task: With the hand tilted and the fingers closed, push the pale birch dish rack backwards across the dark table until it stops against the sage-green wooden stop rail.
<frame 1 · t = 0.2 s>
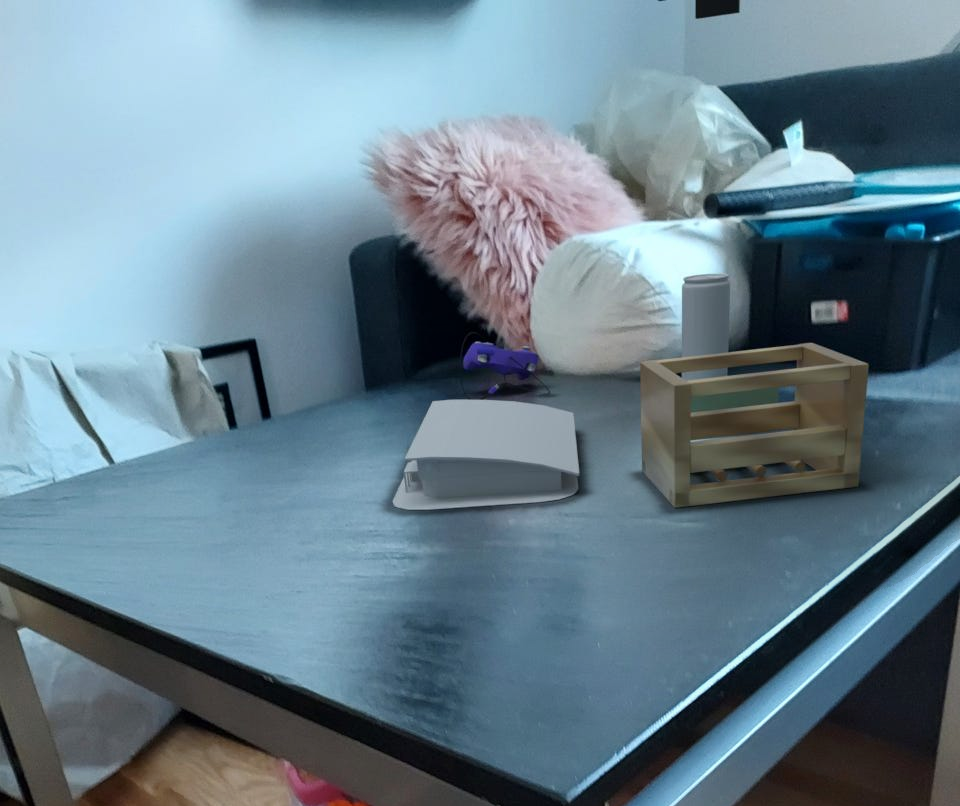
hand: (702, 8, 56), 31 cm above the table, tool pointing down, fingers open, 13 cm apart
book: (491, 467, 85), on the table
beverage can: (704, 396, 102), on the table
stop rail: (721, 414, 94), on the table
rack: (744, 478, 75), on the table
game controller: (507, 394, 112), on the table
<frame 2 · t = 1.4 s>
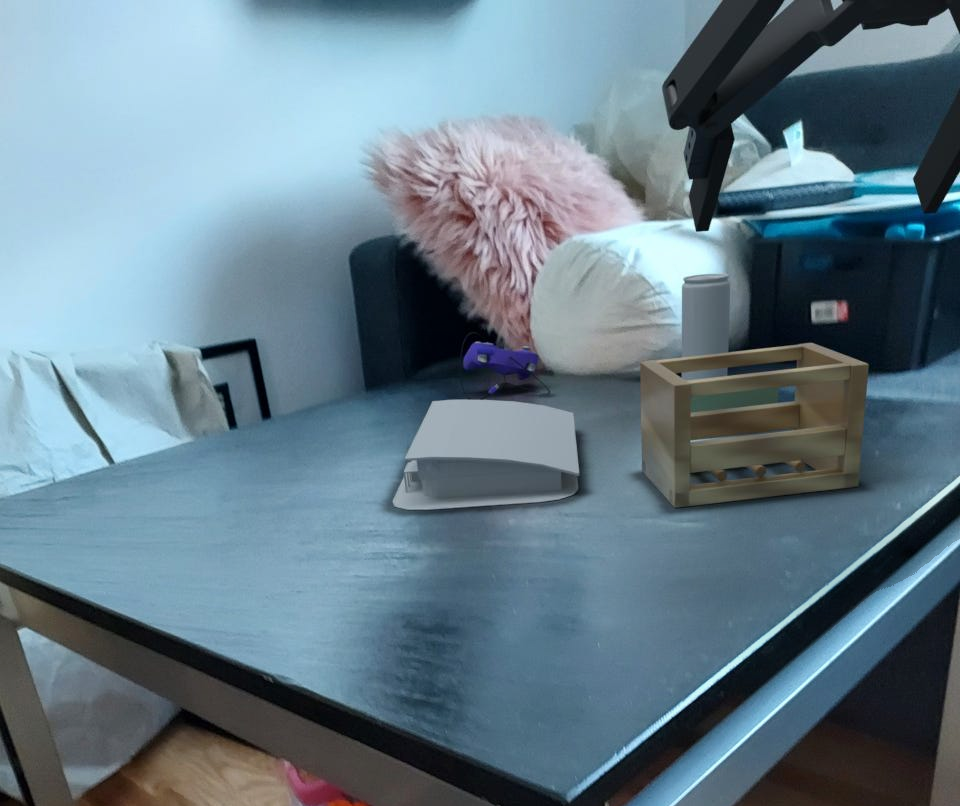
hand: (811, 205, 57), 20 cm above the table, tool tilted 45°, fingers open, 13 cm apart
nothing on the table moved.
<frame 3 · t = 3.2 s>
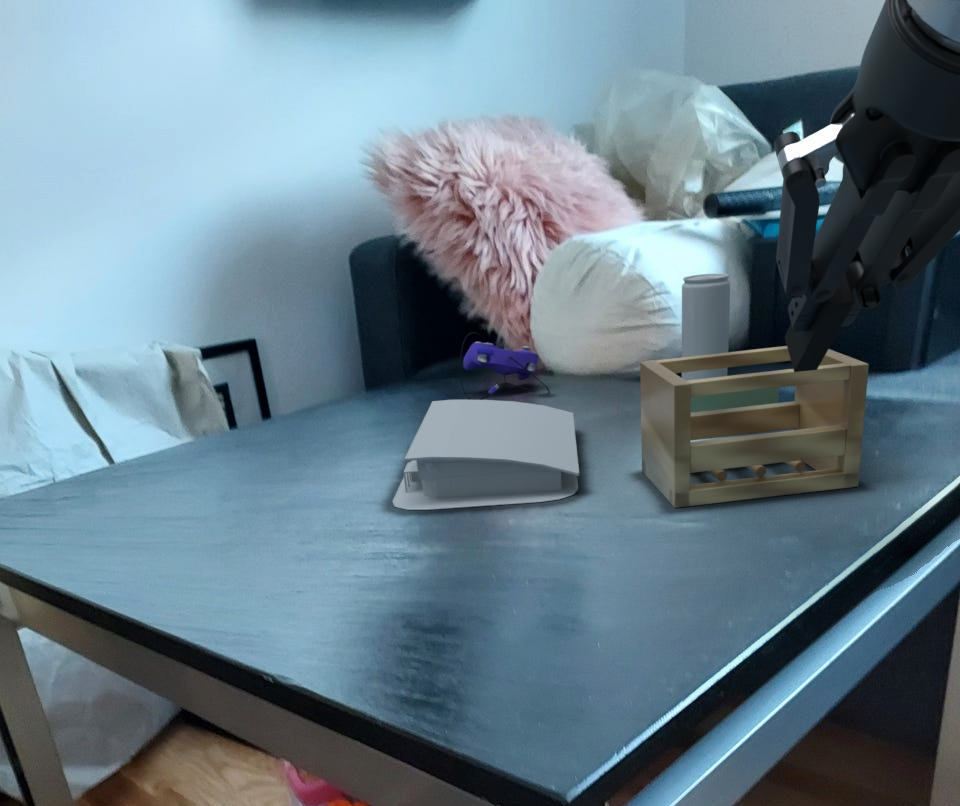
hand: (800, 353, 61), 11 cm above the table, tool tilted 45°, fingers closed
nothing on the table moved.
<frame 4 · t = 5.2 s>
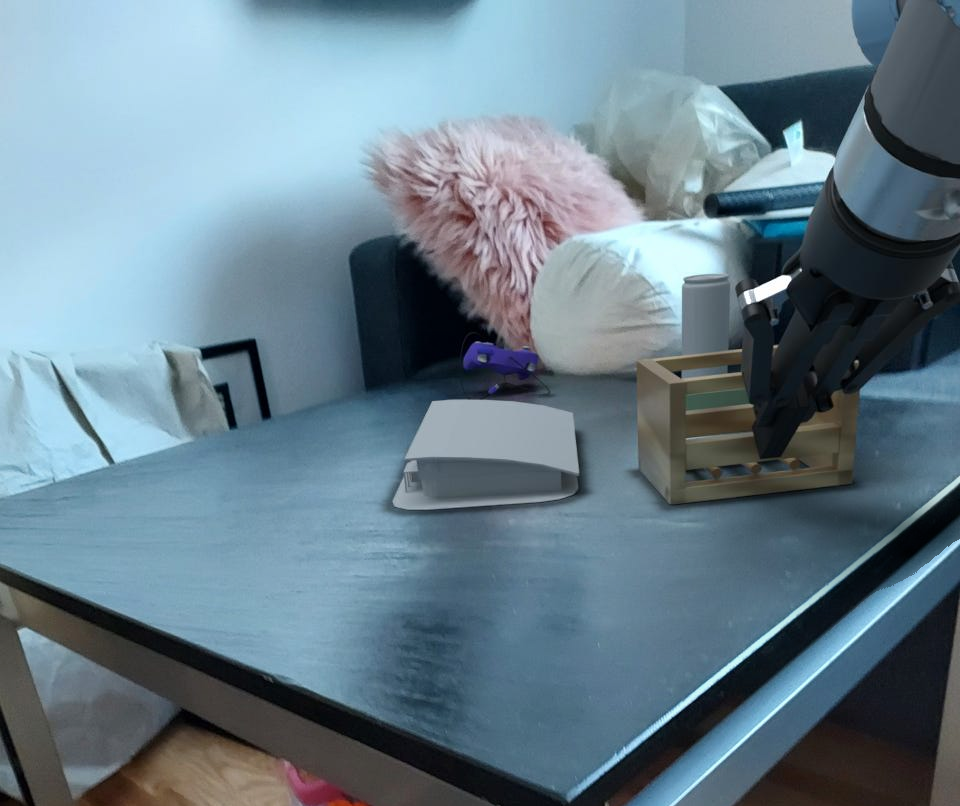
hand: (766, 441, 69), 4 cm above the table, tool tilted 45°, fingers closed
rack: (739, 476, 76), on the table, touching gripper
everything else where it was.
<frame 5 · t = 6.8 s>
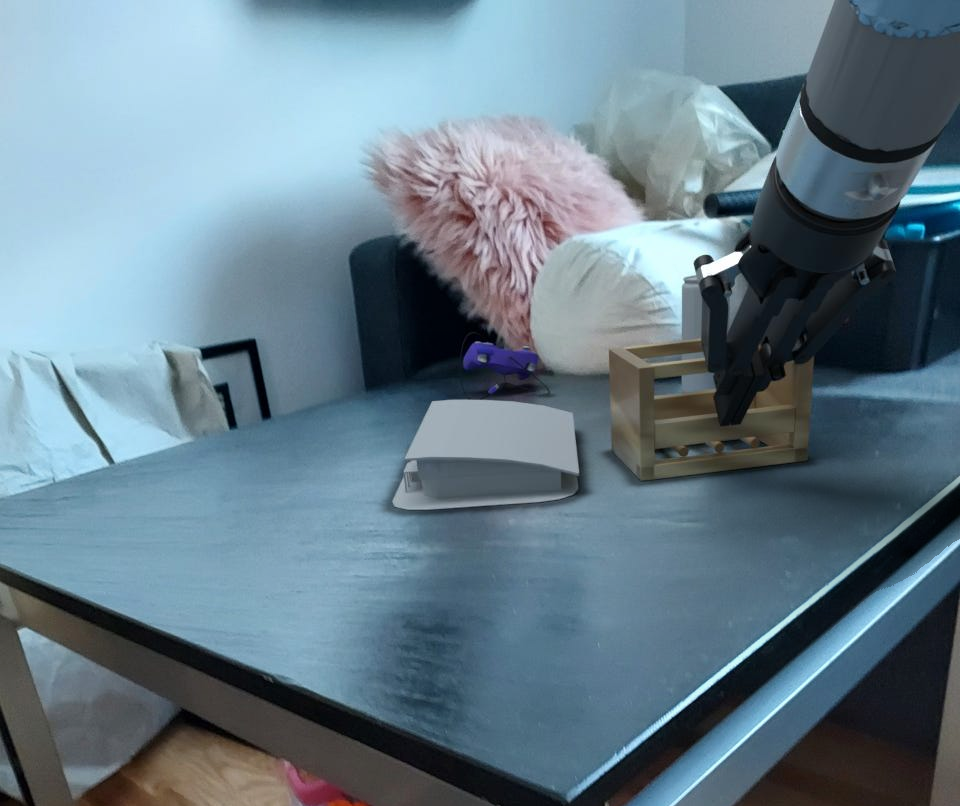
hand: (726, 410, 76), 5 cm above the table, tool tilted 45°, fingers closed
rack: (704, 455, 82), on the table, touching gripper
everything else where it was.
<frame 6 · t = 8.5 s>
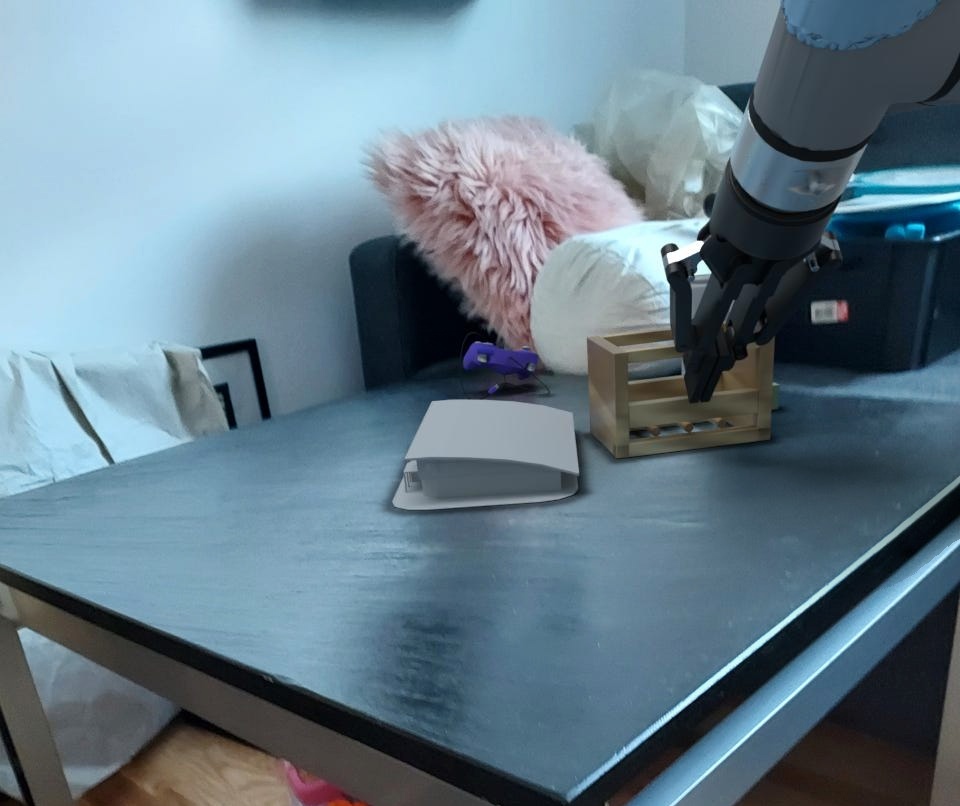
hand: (696, 389, 82), 5 cm above the table, tool tilted 45°, fingers closed
rack: (676, 436, 88), on the table, touching gripper
everything else where it was.
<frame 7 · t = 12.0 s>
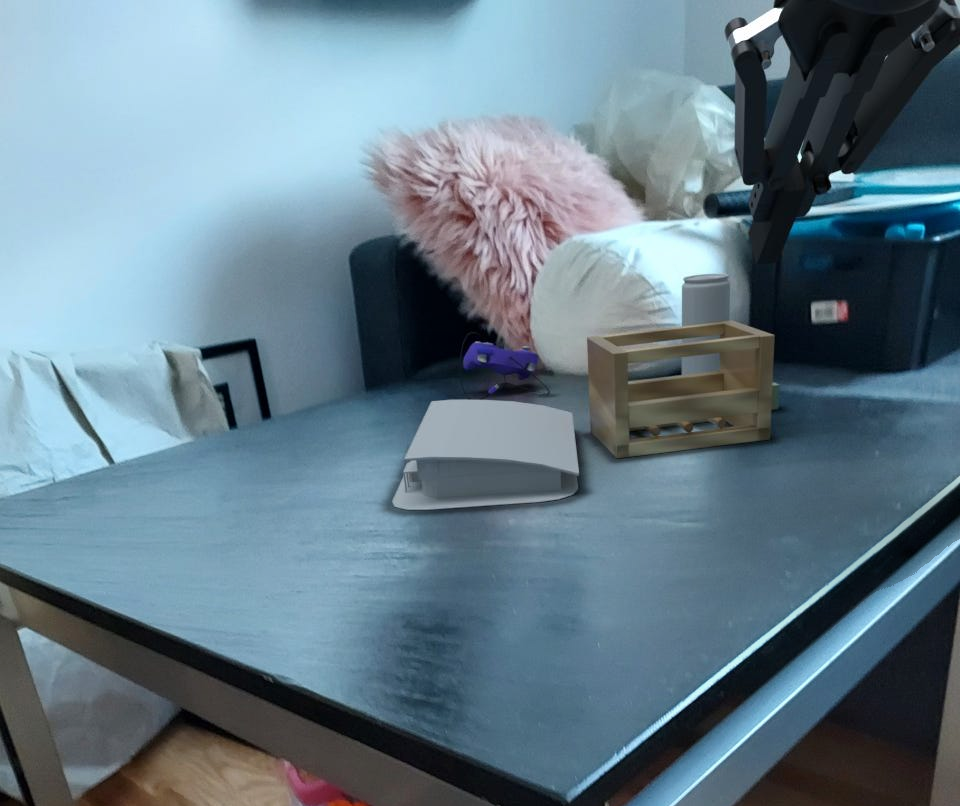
hand: (762, 247, 66), 17 cm above the table, tool tilted 45°, fingers closed
rack: (676, 435, 89), on the table
everything else where it was.
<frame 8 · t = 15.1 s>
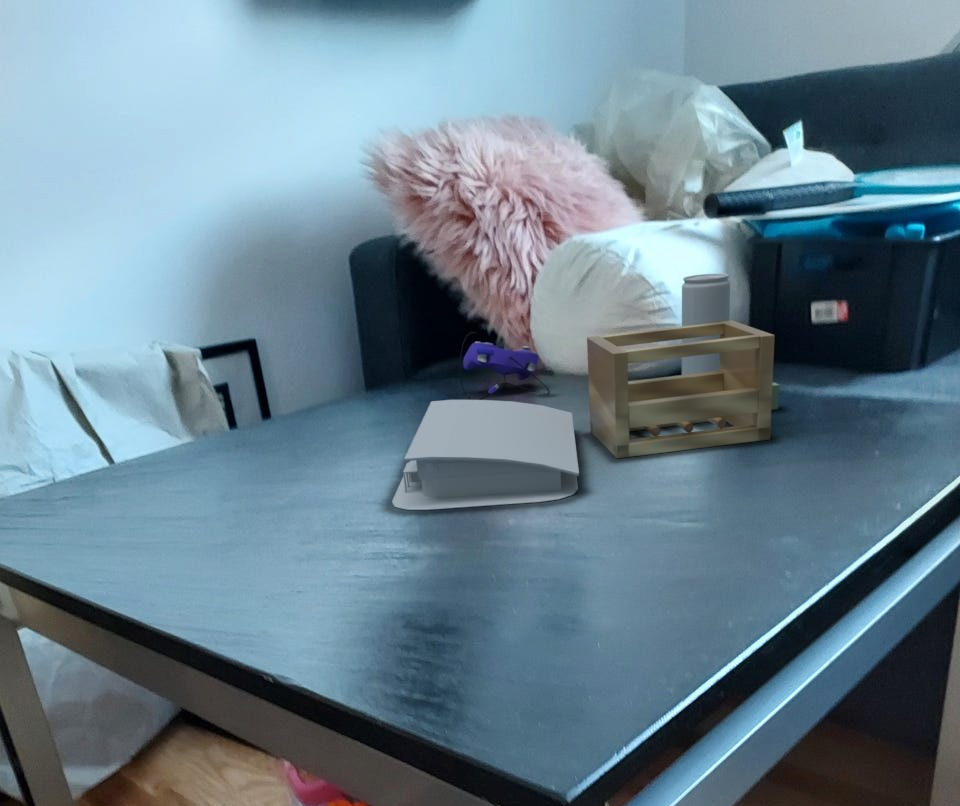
nothing on the table moved.
at the end: rack 8.8 cm from the stop rail (horizontally); rack moved 14.9 cm from its start; rack tilted 0° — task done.
